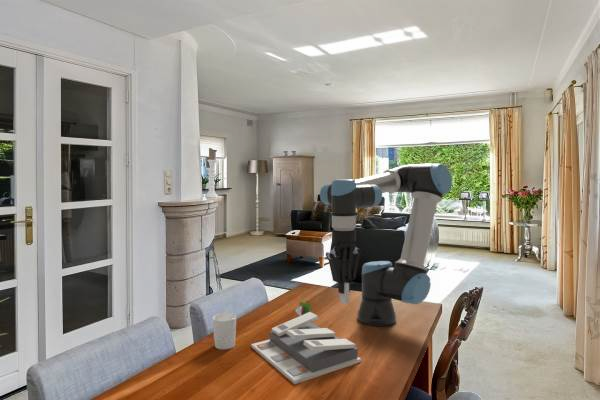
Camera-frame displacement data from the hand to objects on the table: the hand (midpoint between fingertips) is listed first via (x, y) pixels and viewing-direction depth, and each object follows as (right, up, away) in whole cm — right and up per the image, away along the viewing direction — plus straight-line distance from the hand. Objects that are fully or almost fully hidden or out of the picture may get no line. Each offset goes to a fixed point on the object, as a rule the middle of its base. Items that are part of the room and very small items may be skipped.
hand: (344, 302), depth 124 cm
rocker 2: (-10, -11, +4) cm, 16 cm away
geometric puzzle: (-12, -16, +33) cm, 39 cm away
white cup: (-40, -17, +9) cm, 44 cm away
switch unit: (-13, -17, +2) cm, 22 cm away
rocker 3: (-5, -11, -5) cm, 13 cm away
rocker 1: (-16, -10, +12) cm, 22 cm away
